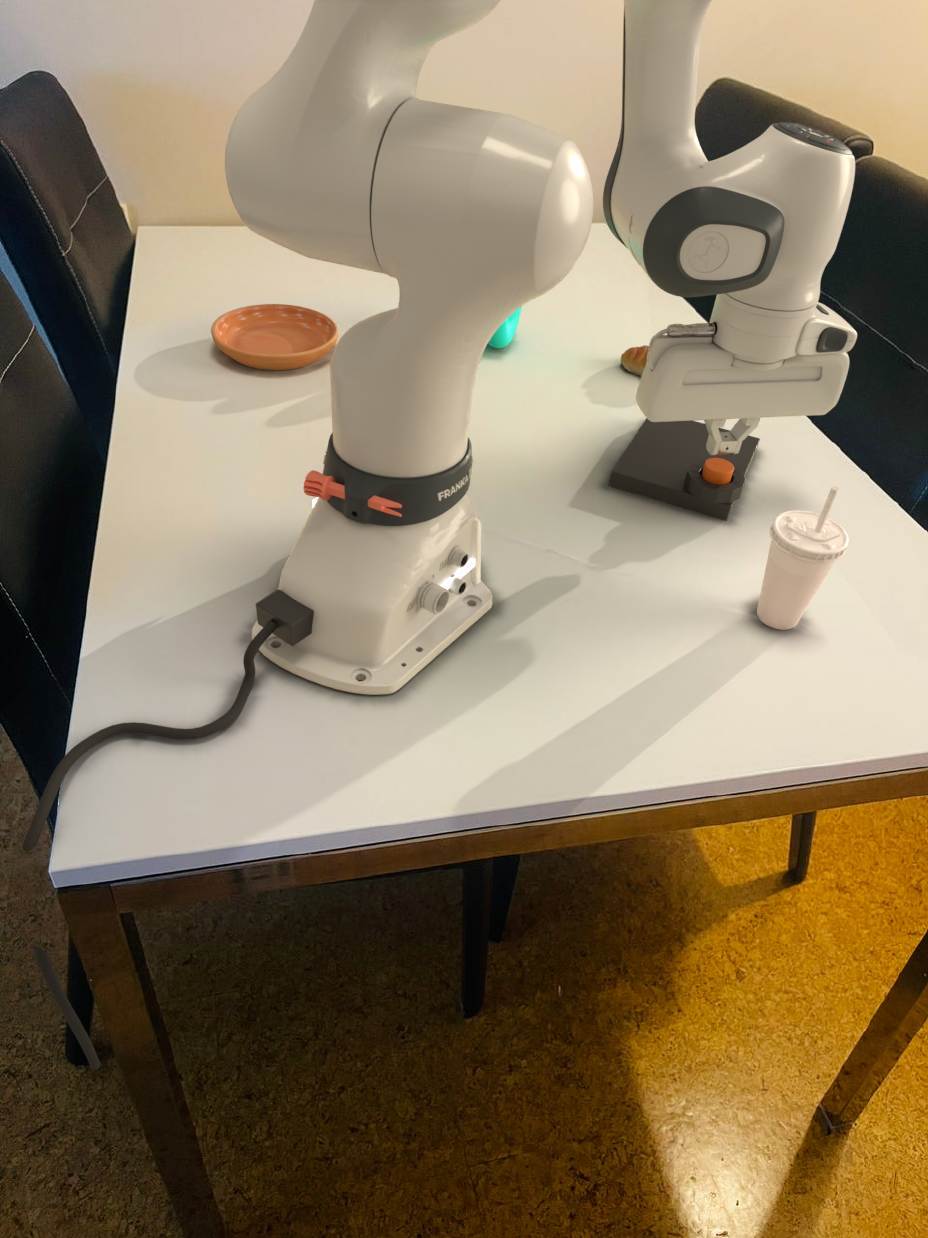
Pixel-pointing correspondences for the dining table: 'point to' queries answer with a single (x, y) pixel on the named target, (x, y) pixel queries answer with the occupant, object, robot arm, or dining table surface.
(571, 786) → the dining table surface
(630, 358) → the pastry
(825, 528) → the smoothie
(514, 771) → the dining table surface
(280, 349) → the saucer
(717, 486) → the scale
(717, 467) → the button
